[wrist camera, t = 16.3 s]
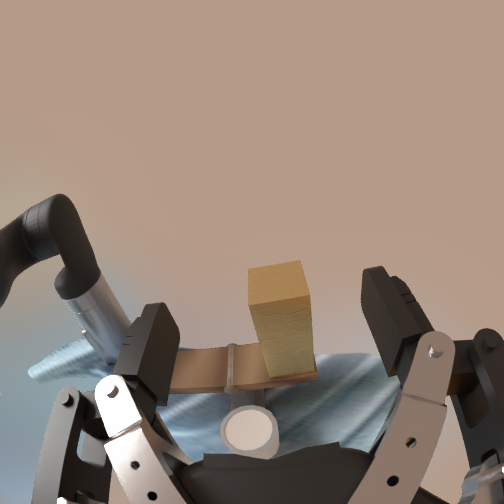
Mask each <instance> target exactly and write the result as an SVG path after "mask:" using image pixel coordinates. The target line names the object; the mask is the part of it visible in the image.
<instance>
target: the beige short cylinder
mask: <svg viewBox="0 0 504 504" xmlns="http://www.w3.org/2000/svg"><path fill="white" fill-rule="evenodd" d="M220 438H221V440H222V442H223V444H224V446H225V447H226V448H228V449H229V450H230V451H232V452H233V453H235V454H239V455H244V456H249V457H255V458H261V459H270V458H272V457H273V456H274V455H275V454H276V453H277V451H278V448H279V433H278V425H277V420H276V419H275V417H274V416H273V414H272V413H271V412H270V411H268V410H266V409H265V408H263V407H260V406H255V405H248V406H241V407H239V408H237V409H235V410H232V411H231V412H230V413H229V414H228V415H227V416H226V417H225V418H224V419H223V421H222V424H221V426H220Z"/></svg>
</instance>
